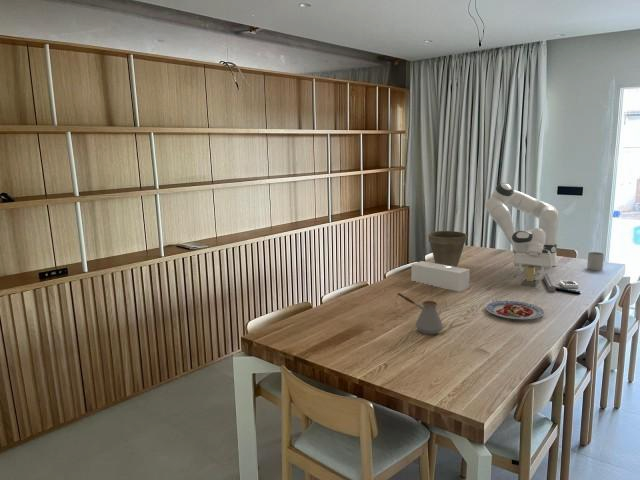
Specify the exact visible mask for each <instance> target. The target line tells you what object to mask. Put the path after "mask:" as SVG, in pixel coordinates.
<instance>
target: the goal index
mask: <svg viewBox="0 0 640 480" xmlns="http://www.w3.org/2000/svg"><path fill="white" fill-rule="evenodd" d="M520 284H521V286H530V287H537V285H538V284H539V279H536V278H535V279H534V282H526V277H524V278H523V279H522V280H521V283H520Z"/></svg>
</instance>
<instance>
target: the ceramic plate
mask: <svg viewBox="0 0 640 480" xmlns="http://www.w3.org/2000/svg"><path fill="white" fill-rule="evenodd" d="M485 309H486V310H487V312H489V313H490V314H493V315H495V316H497V317H501V318H507V319H512V320H533V319H534V320H535V319H538V318H542V317H543V316H544V315H545V310H544V309H543V308H541V307H539V306H538V305H535V304H532V303H529V302H523V301H517V300H495V301H492V302H489V303H487V304H486V305H485Z"/></svg>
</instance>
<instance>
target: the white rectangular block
mask: <svg viewBox="0 0 640 480" xmlns="http://www.w3.org/2000/svg"><path fill="white" fill-rule="evenodd" d="M410 268H411V275H410V277H411V280H412V281H411V282H413V281H416V282H415V283H418V282H420V283H419V284H422V283H424V284H423V285H427V284H428V286H431V285H433V286H432V287H436V286H437V288H441V289H445V290H451V291H454V292H462V291H464V290H466V289H468V288H470V275H471V274H470V271H471V269H469V268H463V267H459V266H457V267H453V266H447V265H442V264H436V263H435V262H430V261H424V260H421V261H417V262H413V263H411V267H410Z"/></svg>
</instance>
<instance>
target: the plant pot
mask: <svg viewBox="0 0 640 480" xmlns="http://www.w3.org/2000/svg"><path fill="white" fill-rule="evenodd" d="M467 236H468V235H467V233H465V232H461V231H456V230H436V231H432V232H429V233H428V242H429V243H430V247H431V252H432V257H433V260H434V261H433V262H434V263H436V264H442V265H447V266H453V267H459V263H460V260H461V257H462V253H463V250H464V247H465V244H466V243H467V238H468V237H467Z"/></svg>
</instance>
